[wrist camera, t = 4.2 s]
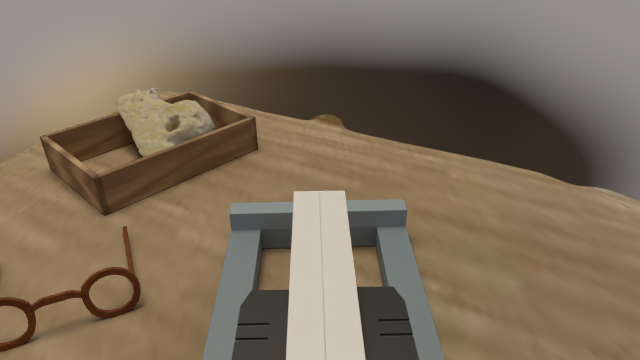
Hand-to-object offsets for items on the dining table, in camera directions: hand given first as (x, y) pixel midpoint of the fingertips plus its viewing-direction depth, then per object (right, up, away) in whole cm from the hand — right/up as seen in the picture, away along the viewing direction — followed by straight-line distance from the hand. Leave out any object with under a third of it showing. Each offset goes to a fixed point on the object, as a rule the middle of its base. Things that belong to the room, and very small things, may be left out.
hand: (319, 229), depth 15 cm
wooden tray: (-23, +5, +54) cm, 59 cm away
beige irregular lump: (-23, +4, +55) cm, 60 cm away
